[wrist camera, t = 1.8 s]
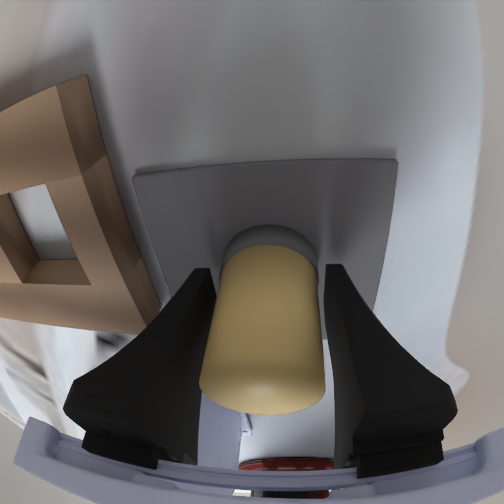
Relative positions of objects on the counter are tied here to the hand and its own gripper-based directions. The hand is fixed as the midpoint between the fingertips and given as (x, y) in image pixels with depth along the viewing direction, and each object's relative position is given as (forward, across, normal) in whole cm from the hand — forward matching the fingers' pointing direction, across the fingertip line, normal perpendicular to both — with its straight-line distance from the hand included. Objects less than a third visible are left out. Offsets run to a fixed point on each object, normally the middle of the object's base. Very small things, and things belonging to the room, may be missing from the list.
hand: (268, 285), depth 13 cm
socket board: (+2, +15, -3) cm, 15 cm away
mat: (+2, 0, 0) cm, 2 cm away
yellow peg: (+1, 0, 0) cm, 1 cm away
